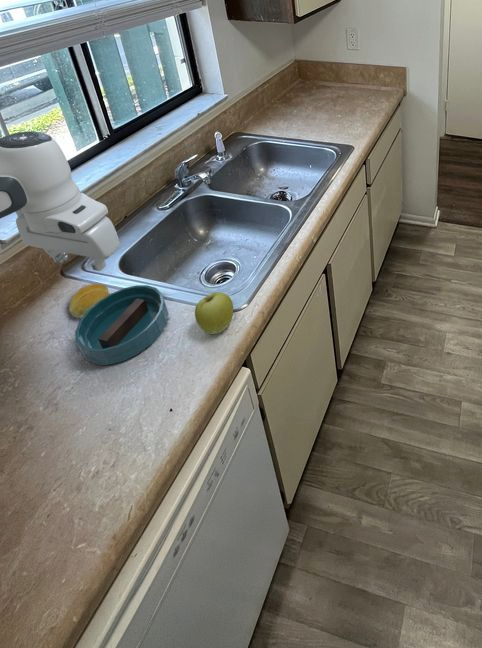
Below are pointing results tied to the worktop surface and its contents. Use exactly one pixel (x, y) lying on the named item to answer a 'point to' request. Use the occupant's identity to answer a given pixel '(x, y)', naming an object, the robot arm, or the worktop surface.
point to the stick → (123, 324)
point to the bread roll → (87, 299)
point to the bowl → (109, 312)
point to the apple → (214, 312)
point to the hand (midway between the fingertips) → (81, 264)
